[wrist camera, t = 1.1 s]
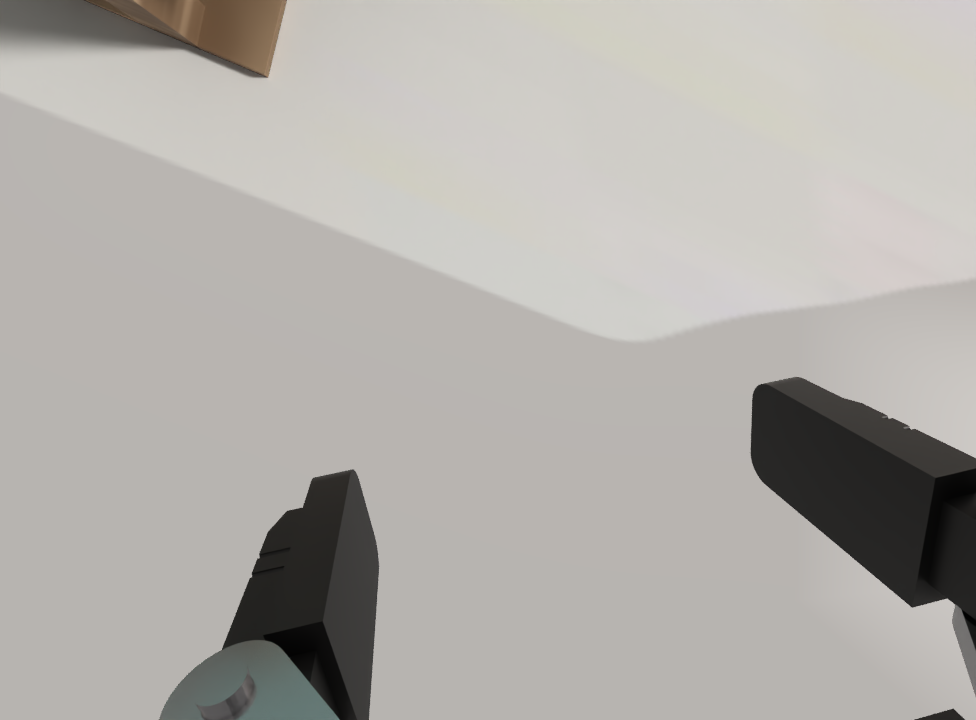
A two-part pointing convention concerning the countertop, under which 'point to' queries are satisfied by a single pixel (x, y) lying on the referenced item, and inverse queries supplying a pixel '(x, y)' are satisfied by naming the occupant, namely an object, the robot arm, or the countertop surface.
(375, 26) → the countertop surface
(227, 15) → the frame
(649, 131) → the countertop surface
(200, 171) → the countertop surface
